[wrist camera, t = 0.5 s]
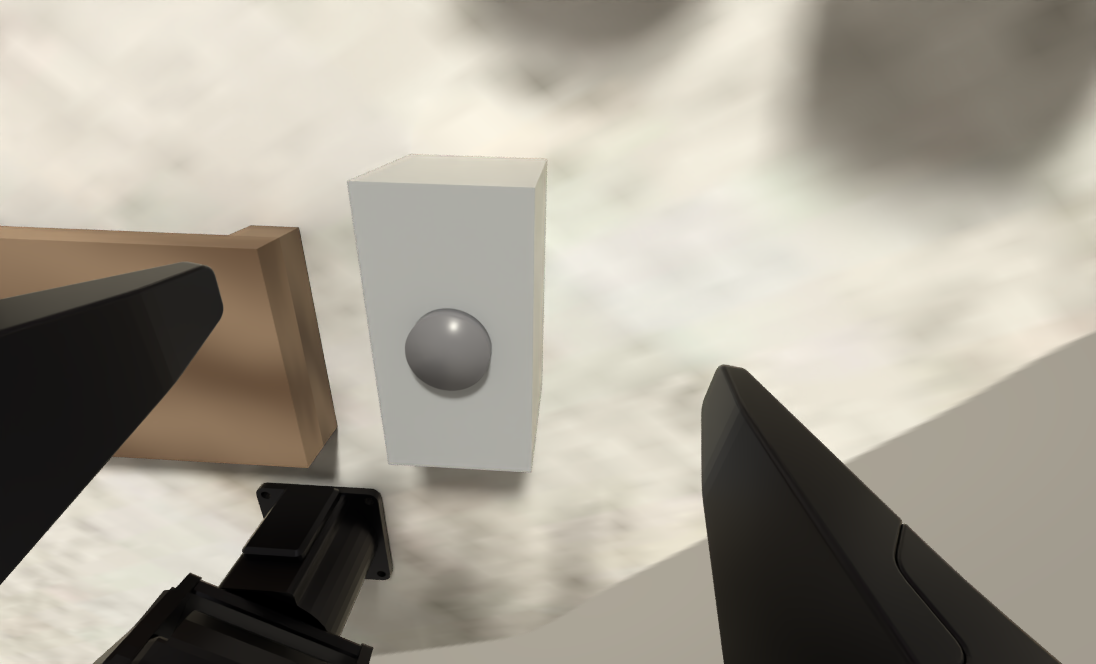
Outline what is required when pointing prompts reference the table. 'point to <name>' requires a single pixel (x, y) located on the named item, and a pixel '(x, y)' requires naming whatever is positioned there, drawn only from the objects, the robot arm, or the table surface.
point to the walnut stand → (210, 339)
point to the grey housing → (455, 305)
